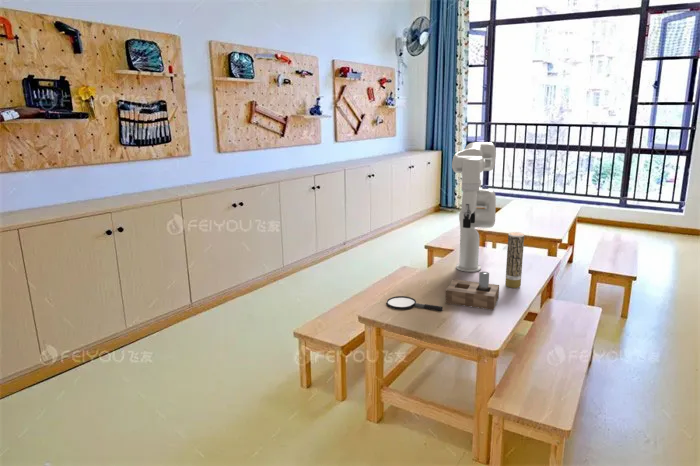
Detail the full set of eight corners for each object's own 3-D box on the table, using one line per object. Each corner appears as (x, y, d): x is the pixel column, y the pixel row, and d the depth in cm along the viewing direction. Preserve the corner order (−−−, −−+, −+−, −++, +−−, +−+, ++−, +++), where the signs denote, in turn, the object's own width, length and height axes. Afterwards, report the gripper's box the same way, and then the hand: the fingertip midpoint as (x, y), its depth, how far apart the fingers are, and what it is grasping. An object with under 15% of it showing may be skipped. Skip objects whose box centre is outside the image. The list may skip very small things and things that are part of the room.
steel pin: (479, 297, 210) (480, 271, 207) (488, 298, 208) (489, 272, 205) (477, 300, 207) (478, 274, 203) (486, 302, 205) (488, 275, 202)
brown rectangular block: (452, 291, 220) (453, 279, 218) (498, 297, 211) (499, 285, 210) (445, 303, 207) (445, 289, 206) (493, 310, 199) (494, 296, 198)
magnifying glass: (437, 317, 195) (437, 312, 194) (382, 308, 205) (382, 304, 205) (445, 305, 206) (446, 301, 205) (393, 298, 216) (392, 293, 215)
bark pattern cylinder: (521, 289, 221) (525, 236, 215) (505, 288, 222) (509, 235, 216) (519, 283, 227) (523, 232, 221) (504, 283, 229) (507, 231, 222)
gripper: (465, 183, 219) (464, 220, 223) (457, 189, 204) (456, 229, 208) (482, 184, 216) (481, 221, 220) (475, 190, 201) (473, 230, 205)
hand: (468, 225), depth 214 cm, fingers open, 9 cm apart
